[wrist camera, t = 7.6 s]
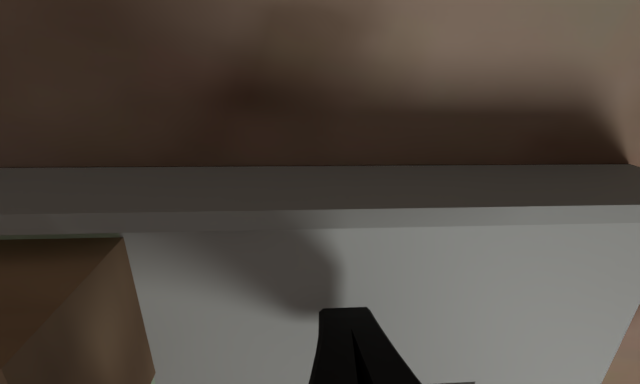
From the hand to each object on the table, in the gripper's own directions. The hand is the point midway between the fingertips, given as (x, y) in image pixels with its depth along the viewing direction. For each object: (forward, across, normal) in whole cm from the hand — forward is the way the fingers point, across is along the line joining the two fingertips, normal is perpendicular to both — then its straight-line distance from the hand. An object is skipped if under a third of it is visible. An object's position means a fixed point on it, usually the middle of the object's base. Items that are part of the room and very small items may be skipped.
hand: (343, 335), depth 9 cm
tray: (+3, +1, +4) cm, 5 cm away
